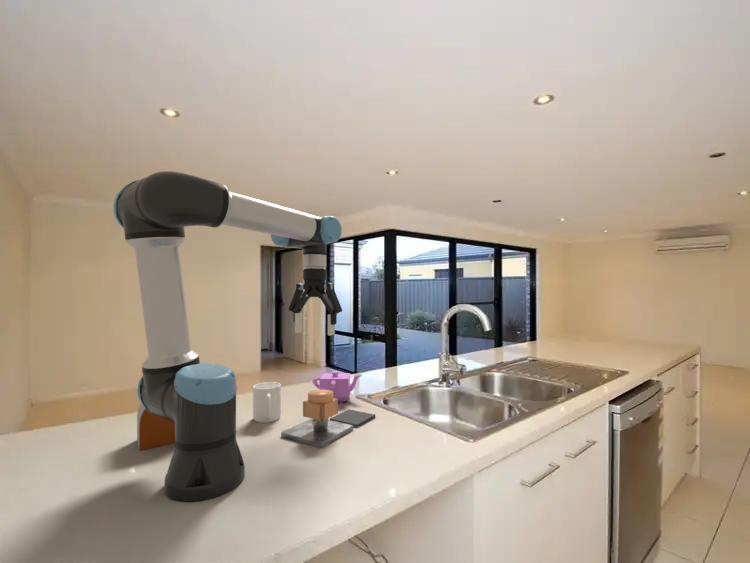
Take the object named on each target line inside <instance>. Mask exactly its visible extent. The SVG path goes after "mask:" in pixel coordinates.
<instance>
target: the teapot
mask: <svg viewBox="0 0 750 563" xmlns="http://www.w3.org/2000/svg"><path fill="white" fill-rule="evenodd" d="M362 376H363V375H362V374H357V375H355V376H354V377H353V379H352V382H351V373H350V372H349V373H348V372H346V373H339V371H337V370H333V371H331V372H330V373H329V372H328V373H327V372H325V373H324V372H323V373H322V374H321V377H315V378H313V379H312V384H313V385H314V386H315V387H316V388H317V390H331V391H333V398H335V399H338V404H341V403H345V402H349V400H350V397H351V392H352V391H353V390H354V389H355V387H356V384H357V381H358V379H359V378H360V377H362ZM318 381H319V383H318Z"/></svg>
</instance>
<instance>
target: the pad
mask: <svg viewBox="0 0 750 563" xmlns="http://www.w3.org/2000/svg"><path fill="white" fill-rule="evenodd" d="M375 418H376V414H375V413H369V412H365V411H364V412H363V411H358V410H354V409H347V410H345V411H343V412H341V413H338V414H336V415H334V416H332V417H329V420H331V421H336V422H340V423H344V424H349V425H353V428H359V427H361V426H362V425H364V424H366V423H368V422H369V421H371V420H373V419H375Z"/></svg>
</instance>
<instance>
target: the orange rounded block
mask: <svg viewBox="0 0 750 563" xmlns="http://www.w3.org/2000/svg"><path fill="white" fill-rule="evenodd" d="M136 420H137V421H136V423H137V424H136V441H137V446H138V451H143V450H148V449H153V448H157V447H162V446H166V445H171V444H175V423H174V422H171V421H169V420H167V419H165V418H162V417H158V416H156V415H154V414H151V413H150V412H149V411H148V410H147V409H146V408H144V407H143V405H142V404H141V403H140V405H139V407H138V410H137V414H136Z"/></svg>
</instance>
